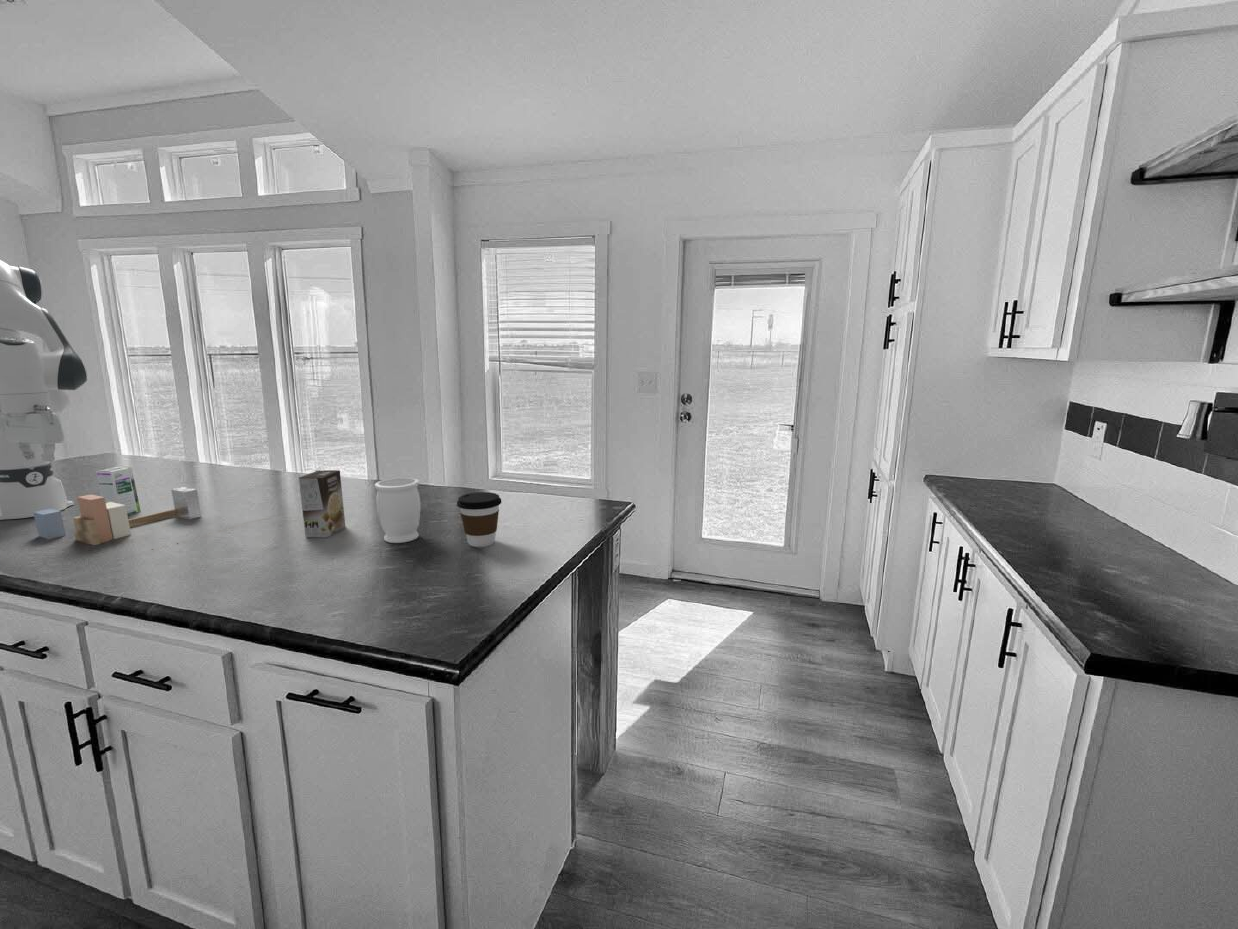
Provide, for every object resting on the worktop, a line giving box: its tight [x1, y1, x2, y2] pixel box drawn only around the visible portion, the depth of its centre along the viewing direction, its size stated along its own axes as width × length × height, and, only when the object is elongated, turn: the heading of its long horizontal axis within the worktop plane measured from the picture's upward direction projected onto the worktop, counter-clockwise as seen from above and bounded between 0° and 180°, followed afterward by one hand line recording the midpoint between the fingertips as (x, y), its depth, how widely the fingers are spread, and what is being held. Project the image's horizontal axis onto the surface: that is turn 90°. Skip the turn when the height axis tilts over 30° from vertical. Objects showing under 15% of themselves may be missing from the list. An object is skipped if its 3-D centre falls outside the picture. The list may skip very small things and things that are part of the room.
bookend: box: [171, 486, 202, 520], centre depth 162 cm, size 7×3×8 cm, turn 65°
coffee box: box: [298, 469, 346, 539], centre depth 151 cm, size 9×6×16 cm
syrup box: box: [95, 466, 141, 516], centre depth 165 cm, size 6×6×14 cm
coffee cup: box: [456, 491, 502, 548], centre depth 144 cm, size 11×11×12 cm
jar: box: [374, 477, 421, 544], centre depth 147 cm, size 11×10×15 cm
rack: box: [72, 508, 176, 546], centre depth 153 cm, size 9×25×7 cm, turn 155°
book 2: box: [106, 502, 132, 540], centre depth 147 cm, size 7×4×8 cm, turn 65°
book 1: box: [76, 494, 113, 542], centre depth 144 cm, size 6×3×11 cm, turn 65°
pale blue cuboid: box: [33, 509, 66, 540], centre depth 147 cm, size 5×3×8 cm, turn 65°
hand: (38, 460), depth 144 cm, fingers open, 8 cm apart
